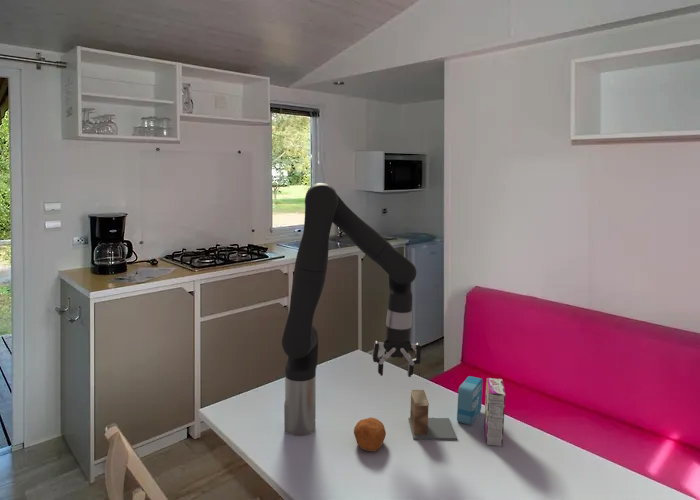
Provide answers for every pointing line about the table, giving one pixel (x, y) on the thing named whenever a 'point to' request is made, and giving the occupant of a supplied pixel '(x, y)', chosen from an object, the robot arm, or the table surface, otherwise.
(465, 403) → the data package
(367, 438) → the potato
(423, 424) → the slab
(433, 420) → the mat
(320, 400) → the table surface
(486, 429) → the candy bar box
